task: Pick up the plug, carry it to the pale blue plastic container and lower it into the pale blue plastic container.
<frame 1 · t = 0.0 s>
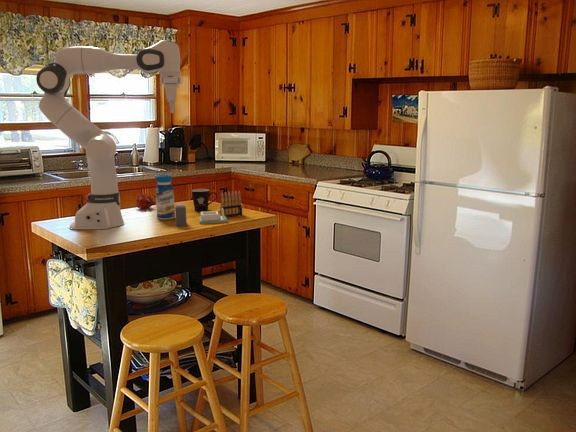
hand: (172, 112, 241), 48 cm above the table, tool pointing down, fingers open, 8 cm apart
plug: (181, 225, 243), on the table
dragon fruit: (145, 209, 282), on the table
coffee mug: (204, 210, 275), on the table
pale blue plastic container: (213, 220, 250), on the table
ammunition clip: (231, 216, 260), on the table
blue and white bottle: (166, 218, 258), on the table
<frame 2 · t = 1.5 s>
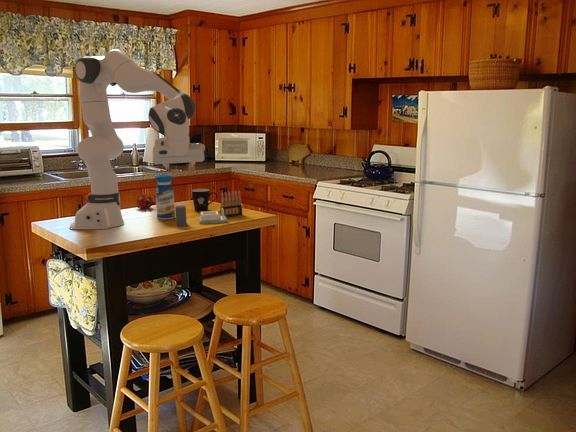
hand: (179, 167, 226), 26 cm above the table, tool tilted 45°, fingers open, 8 cm apart
nothing on the table moved.
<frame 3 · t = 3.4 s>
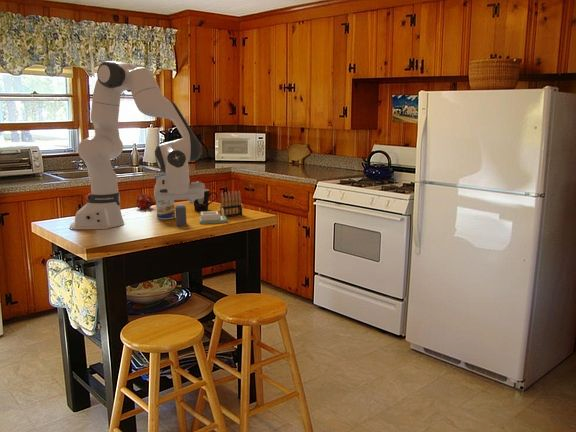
hand: (180, 203, 233), 11 cm above the table, tool tilted 45°, fingers open, 8 cm apart
nothing on the table moved.
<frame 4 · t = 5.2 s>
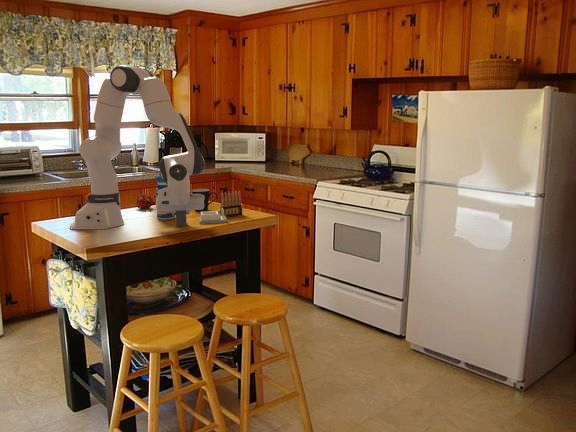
hand: (180, 213, 242), 5 cm above the table, tool tilted 45°, fingers closed on plug, 4 cm apart
plug: (181, 224, 243), on the table, touching gripper
everything else where it was.
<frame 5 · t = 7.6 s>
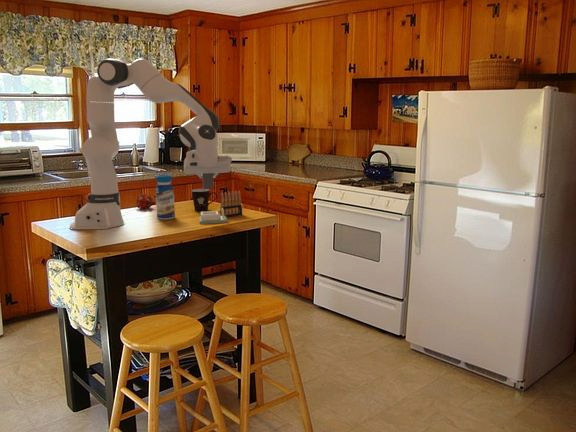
hand: (207, 177, 246), 20 cm above the table, tool tilted 45°, fingers closed on plug, 4 cm apart
plug: (208, 188, 246), point 15 cm above the table, touching gripper
everything else where it was.
when the fingers open (8 cm above the table, at t = 10.3 s): plug drops 1 cm, resting on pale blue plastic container.
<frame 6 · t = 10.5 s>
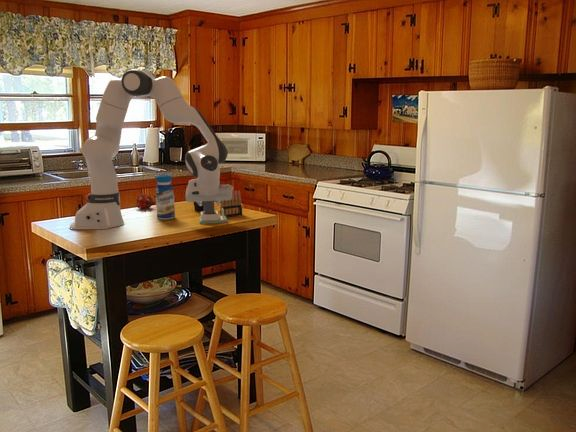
hand: (208, 204, 249), 8 cm above the table, tool tilted 45°, fingers open, 6 cm apart
plug: (209, 218, 249), point 1 cm above the table, touching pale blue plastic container
everything else where it was.
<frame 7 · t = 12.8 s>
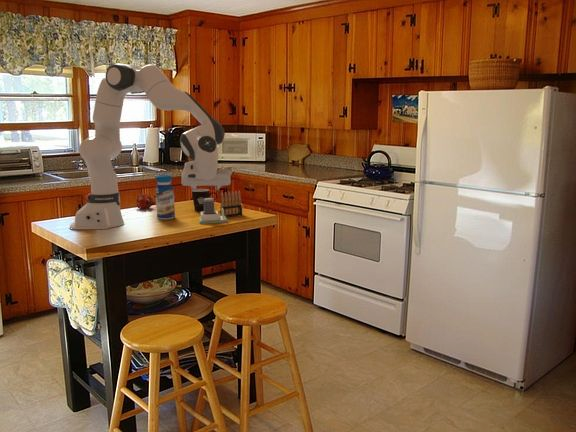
hand: (205, 189, 235), 16 cm above the table, tool tilted 45°, fingers open, 8 cm apart
nothing on the table moved.
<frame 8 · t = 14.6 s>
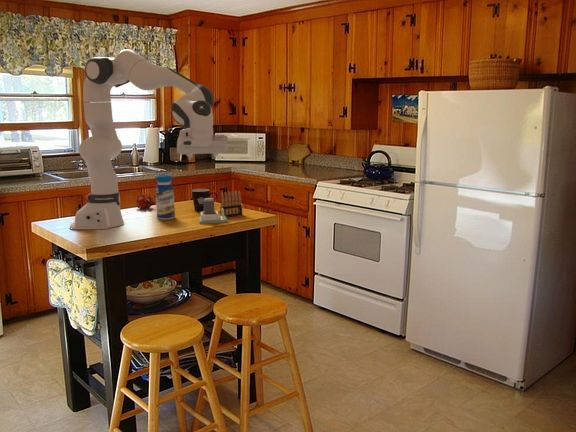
hand: (202, 158, 232), 29 cm above the table, tool tilted 45°, fingers open, 8 cm apart
nothing on the table moved.
at the end: plug 0.1 cm from the target spot on the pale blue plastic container, point 1.2 cm above the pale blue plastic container's base; plug tilted 0°; the gripper is holding nothing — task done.
